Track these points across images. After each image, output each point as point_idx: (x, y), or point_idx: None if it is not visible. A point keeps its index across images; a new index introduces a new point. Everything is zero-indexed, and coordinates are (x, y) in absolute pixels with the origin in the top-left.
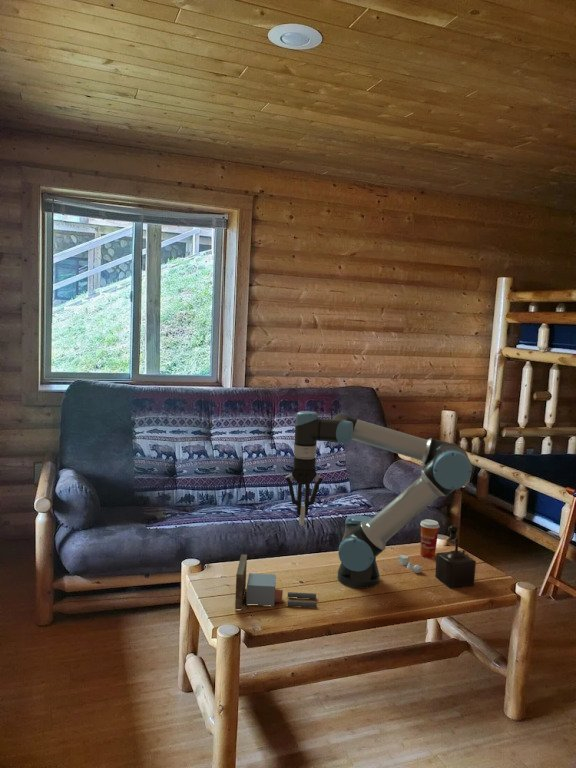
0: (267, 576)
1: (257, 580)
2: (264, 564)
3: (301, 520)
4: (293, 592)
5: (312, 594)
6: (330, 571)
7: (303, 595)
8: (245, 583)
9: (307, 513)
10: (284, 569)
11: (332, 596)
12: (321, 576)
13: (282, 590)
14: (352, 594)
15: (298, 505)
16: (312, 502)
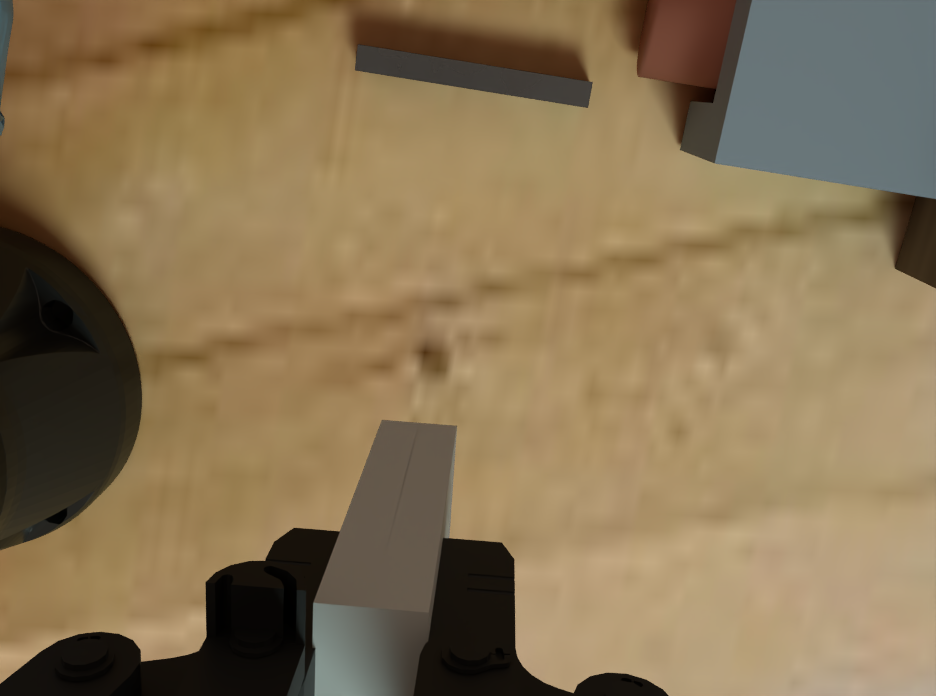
0: (806, 123)
1: (926, 33)
2: (667, 656)
3: (428, 459)
4: (541, 98)
5: (387, 54)
6: (182, 517)
7: (462, 61)
8: (930, 244)
9: (284, 547)
10: (529, 568)
11: (224, 96)
12: (262, 440)
13: (659, 17)
14: (61, 124)
15: (493, 642)
16: (66, 670)
